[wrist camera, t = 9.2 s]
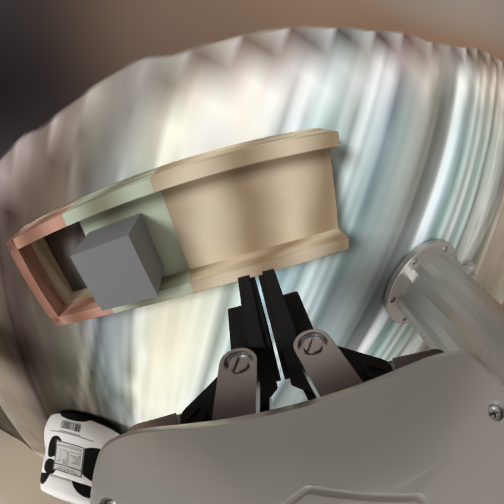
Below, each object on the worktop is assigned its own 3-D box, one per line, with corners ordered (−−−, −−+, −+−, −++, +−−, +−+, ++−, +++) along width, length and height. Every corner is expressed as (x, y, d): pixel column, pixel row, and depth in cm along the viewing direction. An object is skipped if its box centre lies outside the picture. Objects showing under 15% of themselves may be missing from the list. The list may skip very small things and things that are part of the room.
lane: (316, 127, 20) (338, 132, 17) (330, 229, 25) (349, 248, 22) (26, 224, 19) (5, 243, 16) (68, 301, 24) (56, 326, 21)
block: (140, 212, 19) (128, 235, 16) (163, 266, 22) (158, 296, 18) (88, 232, 19) (70, 256, 16) (114, 281, 22) (102, 310, 18)
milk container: (99, 446, 43) (95, 511, 27) (37, 410, 35) (22, 482, 19) (147, 438, 41) (148, 518, 25) (75, 397, 33) (59, 492, 17)
